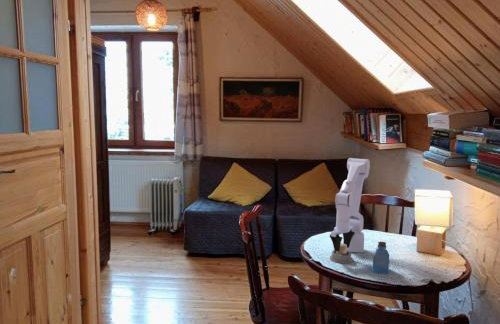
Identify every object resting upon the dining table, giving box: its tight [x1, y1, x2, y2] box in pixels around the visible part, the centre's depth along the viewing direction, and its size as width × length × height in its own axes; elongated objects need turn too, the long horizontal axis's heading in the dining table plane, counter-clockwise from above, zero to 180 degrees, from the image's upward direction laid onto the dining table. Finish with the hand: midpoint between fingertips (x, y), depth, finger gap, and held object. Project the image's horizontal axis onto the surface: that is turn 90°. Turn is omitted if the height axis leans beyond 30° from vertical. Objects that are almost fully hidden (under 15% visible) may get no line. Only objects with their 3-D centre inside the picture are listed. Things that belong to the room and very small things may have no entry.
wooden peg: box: [336, 242, 347, 255], centre depth 182 cm, size 4×4×6 cm
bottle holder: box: [329, 249, 354, 264], centre depth 182 cm, size 10×10×3 cm
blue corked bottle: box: [372, 241, 390, 275], centre depth 169 cm, size 6×6×12 cm
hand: (341, 248), depth 182 cm, fingers open, 7 cm apart
